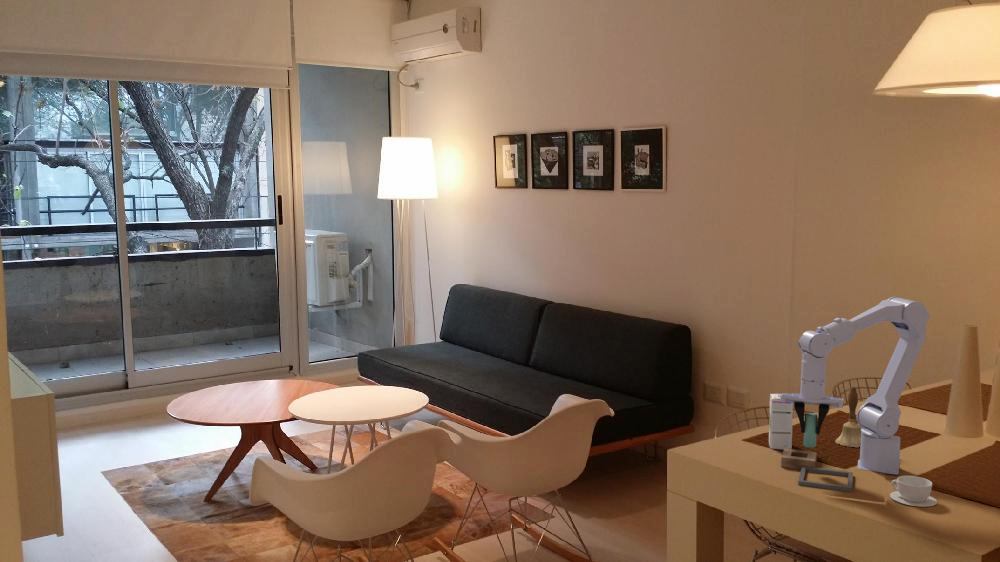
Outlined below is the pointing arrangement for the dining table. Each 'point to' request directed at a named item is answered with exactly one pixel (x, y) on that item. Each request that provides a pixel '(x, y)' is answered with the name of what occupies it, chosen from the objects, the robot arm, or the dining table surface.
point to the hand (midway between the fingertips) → (810, 432)
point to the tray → (826, 485)
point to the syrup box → (780, 423)
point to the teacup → (913, 491)
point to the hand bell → (851, 424)
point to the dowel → (810, 430)
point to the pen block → (798, 458)
